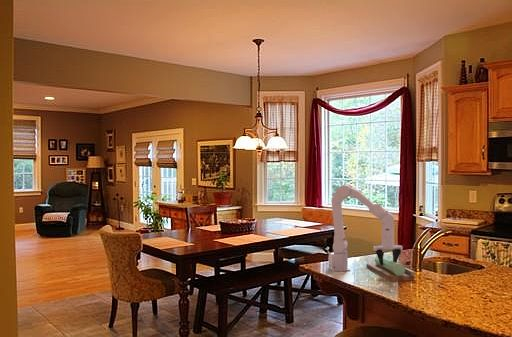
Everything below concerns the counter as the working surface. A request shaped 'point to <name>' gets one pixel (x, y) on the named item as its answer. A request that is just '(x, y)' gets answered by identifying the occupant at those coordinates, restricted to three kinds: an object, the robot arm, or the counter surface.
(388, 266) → the container
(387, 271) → the shelf
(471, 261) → the counter surface
